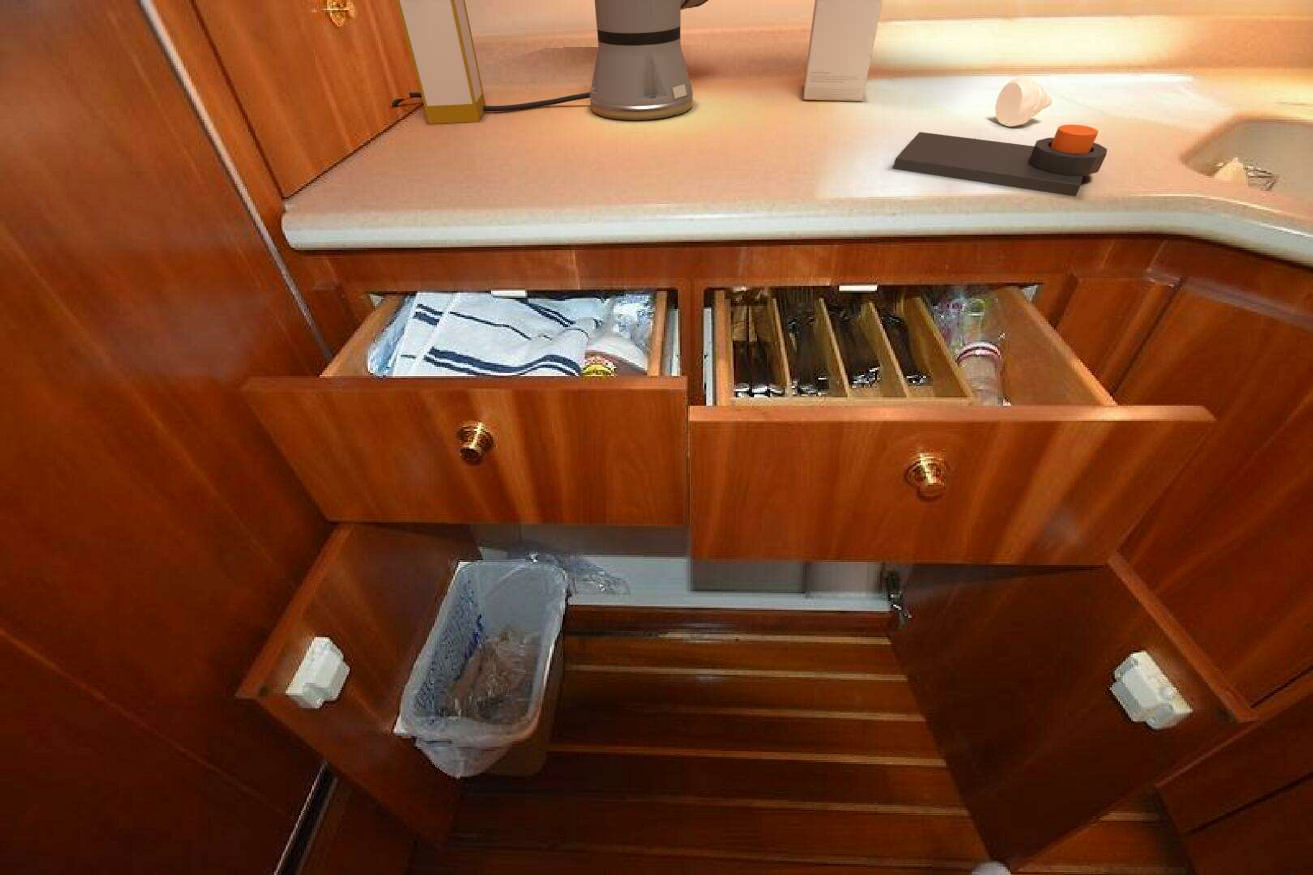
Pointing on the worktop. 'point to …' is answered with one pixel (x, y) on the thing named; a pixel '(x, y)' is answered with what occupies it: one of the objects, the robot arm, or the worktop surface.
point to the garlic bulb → (1020, 101)
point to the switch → (1074, 139)
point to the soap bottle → (443, 59)
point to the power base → (1000, 162)
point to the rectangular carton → (840, 49)
